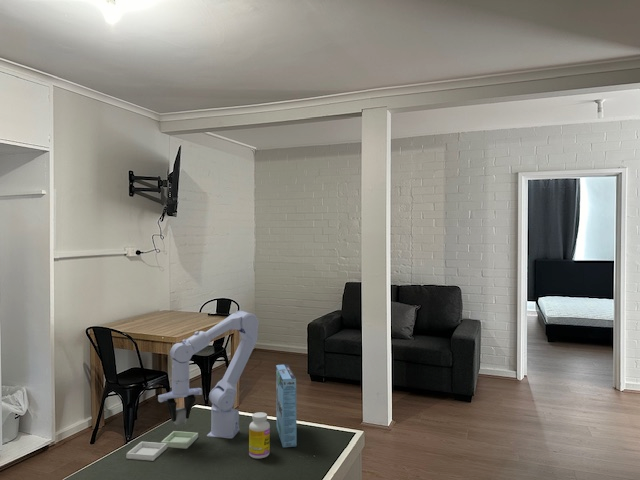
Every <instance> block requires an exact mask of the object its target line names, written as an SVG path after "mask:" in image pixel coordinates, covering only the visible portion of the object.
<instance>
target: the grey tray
mask: <svg viewBox="0 0 640 480" xmlns="http://www.w3.org/2000/svg"><path fill="white" fill-rule="evenodd" d="M167 449H168V447H167V443H161V442H156V441H155V442H154V441H153V442H152V441H140V442H139V443H137V444H136V445H135V446H134V447H132V449H130V450H129V451H127V452H126V453H125V454H126V459H129V460H140V461H153V462H154V461H155V460H156V459H157V458H158V457H159V456H160V455H161V454H163V453H164V452H165V451H166V450H167Z"/></svg>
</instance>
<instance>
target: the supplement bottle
mask: <svg viewBox="0 0 640 480" xmlns="http://www.w3.org/2000/svg"><path fill="white" fill-rule="evenodd" d="M251 418H252V421H251V422H250V423H249V426H248V430H249V431H248V455H249V456H250V458H252V459H263V458H267V457H268V456H269V455H270V450H271V448H270V447H271V446H270V444H271V442H270V441H271V440H270V439H271V437H270V436H271V433H270V432H271V425H270V422H269V421H267V419H268V414H267V413H266V412H261V411H260V412H259V411H258V412H255V413H253V414H252V417H251Z"/></svg>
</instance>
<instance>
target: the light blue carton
mask: <svg viewBox="0 0 640 480" xmlns="http://www.w3.org/2000/svg"><path fill="white" fill-rule="evenodd" d="M275 367H276V368H275V369H276V370H275V372H276V377H275V378H276V382H275V383H276V384H275V385H276V389H275V390H276V393H275V394H276V397H275V398H276V430H277V433H278V436H279V439H280V443H281V446H282V448H292V447H297V431H298V430H297V429H298V428H297V378H296V376H295V375H294V372H293V371H292V369H291V368H290V365H289V364H277V365H275Z"/></svg>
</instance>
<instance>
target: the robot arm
mask: <svg viewBox="0 0 640 480" xmlns="http://www.w3.org/2000/svg"><path fill="white" fill-rule="evenodd" d="M259 326H260V321H259V319H258V317H257V315H255V314H254V313H253V312H251V313H250V312H246V311H245V310H237V311H235V312H234V313H231V314H229V315H228V316H227V317H226V318H225V319H223V320H221V321H220V322H218V323H217V324H216V325H214V326H212V327H211V328H210V329H208V330H207V331H204V330H200V331H198V330H196V331H194V334H193V335H191V336H189V337H188V338H186V339H185V338H184V339H182V341H181V342H177V343H176V342H175V344H174V345H172V347H171V348H170V350H169V356H170V357H171V362H172V364H171V390H170V391H169V392H166V393H163V394H159V395H157V401H158V402H159V403H163V402H165V404H166V406H167V408H168V410H169V413H170V419H171V421H172V422H173V423H174V421H176V408H177V404H178V402H176V400H177V399H183V402H184V408H186V420H187V419H189V418H190V414H191V412H192V408H193V406H194V404H195V401H196V399H197V397H196V396H198V395H199V396H200V395H201V396H202V395H203V389H202V388H201V387H195V388H194V387H193V388H190V360H191V359H192V357H193V355H195V354H197V353H198V352H200V351H202V350H203V349H205V348H207V347H209V346H210V343H211V341H212V340H213V339H215V338H218V337H219V336H220V335H222V334H224V333H226V332H228V331H230V330H238V332H239V335H240V337H241V340H240V342H239V344H238V345H237V348H236V350H235V352H234V354H233V357H232V358H231V360H230V363H229V365H228V367H227V369H226V371H225V373H224V375H223V376H222V379H221V380H218V382H216V385H215V386H214V387H213V388H212V389H211V390H210V392H209V393H208V394H209V395H208V399H209V402H210V403H211V409H210V412H211V415H210V416H211V417H210V420H211V421H210V422H211V423H210V425H211V429H210V432H209V433H208V434H206V437H208V438H210V437H211V438H224V439H234V438H235V436H236V435H237V434H238V433H239V432H240V411H239V409H236V408H233V406H234V405H235V401H236V396H237V393H238V391H237V385H238V382H239V380H240V377H241V375H242V373H243V371H244V369H245V367H246V365H247V363H248V361H249V359H250V357H251V354H252V352H253V350H254V348H255V346H256V344H257V342H258V334H259V331H258V330H259V328H258V327H259Z"/></svg>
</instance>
